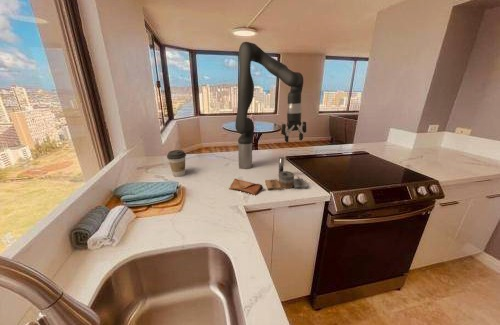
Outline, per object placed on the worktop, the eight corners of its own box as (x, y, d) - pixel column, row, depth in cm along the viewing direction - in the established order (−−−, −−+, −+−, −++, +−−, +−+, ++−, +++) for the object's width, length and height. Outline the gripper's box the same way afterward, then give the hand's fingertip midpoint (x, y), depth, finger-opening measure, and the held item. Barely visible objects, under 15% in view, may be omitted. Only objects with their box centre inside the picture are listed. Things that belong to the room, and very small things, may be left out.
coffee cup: (183, 179, 128) (179, 155, 123) (166, 177, 130) (162, 154, 125) (191, 171, 138) (189, 149, 133) (175, 170, 141) (172, 148, 135)
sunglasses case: (226, 189, 116) (229, 177, 117) (232, 190, 122) (235, 178, 123) (256, 196, 109) (259, 183, 109) (261, 196, 115) (263, 184, 116)
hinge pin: (279, 176, 131) (279, 158, 126) (278, 174, 133) (278, 157, 129) (283, 176, 131) (284, 158, 126) (282, 174, 133) (283, 156, 129)
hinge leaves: (267, 190, 114) (268, 178, 112) (265, 182, 124) (265, 171, 121) (307, 188, 116) (309, 177, 114) (302, 180, 125) (303, 169, 123)
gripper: (302, 110, 119) (301, 138, 125) (279, 112, 116) (279, 141, 121) (309, 111, 113) (308, 141, 118) (285, 113, 109) (285, 144, 114)
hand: (293, 141), depth 120 cm, fingers open, 8 cm apart
